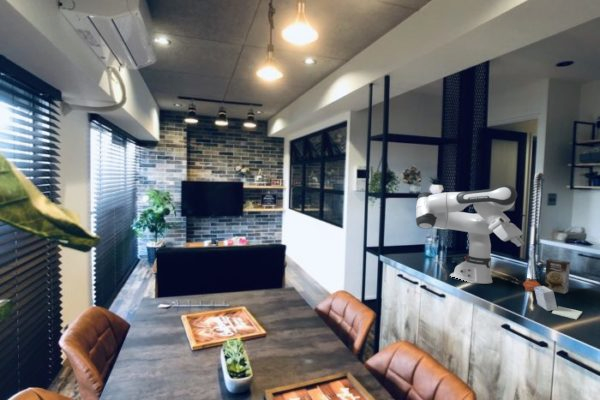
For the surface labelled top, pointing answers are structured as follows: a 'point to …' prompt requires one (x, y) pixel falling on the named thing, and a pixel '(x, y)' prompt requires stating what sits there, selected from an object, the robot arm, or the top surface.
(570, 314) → the sage mat
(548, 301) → the medicine box
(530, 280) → the pot
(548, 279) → the coffee box
